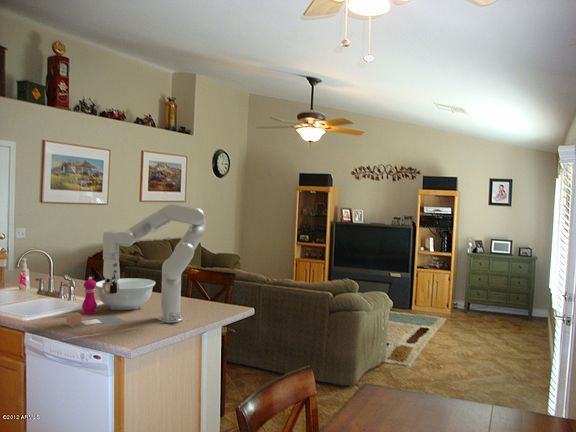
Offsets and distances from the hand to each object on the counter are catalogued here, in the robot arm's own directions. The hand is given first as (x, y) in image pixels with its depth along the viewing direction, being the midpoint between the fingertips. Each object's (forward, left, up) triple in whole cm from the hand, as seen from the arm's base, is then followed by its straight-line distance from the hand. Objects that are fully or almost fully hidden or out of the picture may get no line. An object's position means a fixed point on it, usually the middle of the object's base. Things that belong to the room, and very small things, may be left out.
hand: (110, 291), depth 240 cm
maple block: (0, 0, -1) cm, 1 cm away
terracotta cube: (0, +17, -14) cm, 22 cm away
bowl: (+23, -18, -15) cm, 33 cm away
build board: (0, +8, -15) cm, 17 cm away
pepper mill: (+19, +3, -15) cm, 25 cm away
